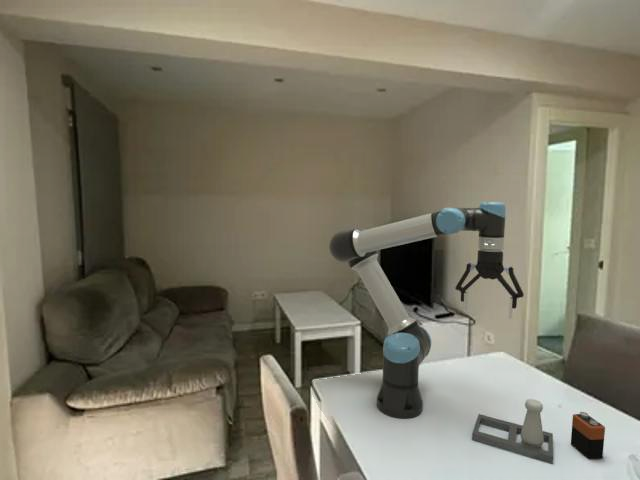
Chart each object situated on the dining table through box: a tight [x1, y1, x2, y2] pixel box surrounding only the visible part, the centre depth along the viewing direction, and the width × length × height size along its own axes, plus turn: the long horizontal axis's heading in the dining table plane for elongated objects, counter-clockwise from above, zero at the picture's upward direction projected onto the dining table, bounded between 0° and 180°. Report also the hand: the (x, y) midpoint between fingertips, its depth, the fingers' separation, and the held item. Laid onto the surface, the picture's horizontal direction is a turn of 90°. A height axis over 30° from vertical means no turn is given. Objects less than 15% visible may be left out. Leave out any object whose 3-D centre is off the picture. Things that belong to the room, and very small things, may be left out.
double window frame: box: [471, 413, 554, 465], centre depth 111 cm, size 20×12×2 cm, turn 60°
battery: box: [570, 411, 606, 460], centre depth 106 cm, size 4×7×10 cm, turn 5°
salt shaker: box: [519, 398, 544, 449], centre depth 108 cm, size 6×6×13 cm
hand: (487, 314), depth 126 cm, fingers open, 13 cm apart
